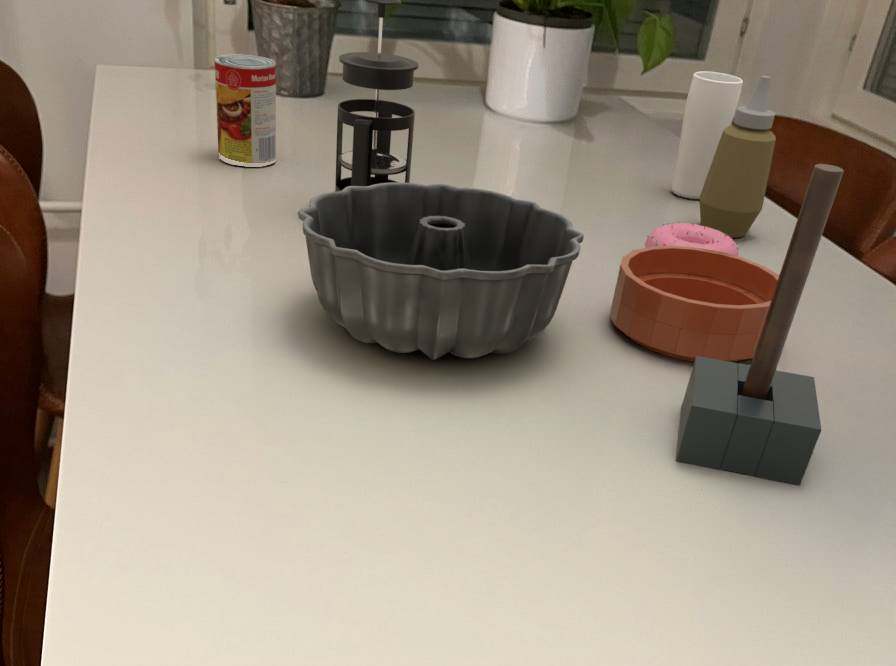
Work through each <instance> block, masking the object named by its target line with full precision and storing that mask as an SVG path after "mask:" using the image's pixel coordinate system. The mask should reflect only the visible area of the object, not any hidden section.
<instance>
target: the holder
mask: <svg viewBox="0 0 896 666" xmlns="http://www.w3.org/2000/svg"><path fill="white" fill-rule="evenodd" d="M750 365H751V364H744V363H737V362H728V361H722V360H717V359H711V358H706V357H700V356H696V357H695V361H693V365H692V369H691V371H690V372H691V373H690V375H689V379H688V381H687V386H686V389H685V392H684V396H683V400H682V403H681V407H680V418H679V426H678V435H677V446H676V455H675V461H677V462H681V463H686V464H692V465H695V466H700V467H701V466H702V467H706V468H711V469H716V470H722V471H727V472H732V473H737V474H742V475H748V476H751V477H755V478H762V479H765V480H771V481H776V482H780V483H786V484H792V485H795V486H801V484H802V481H803V478H804V477H805V473H806V472H807V470H808V469H807V468H808V467H809V464H810V461H811V459H812V456H813V454H814V451H815V448H816V446H817V443H818V441H819V438H820V435H821V433H822V423H821V418H820V409H819V403H818V394H817V388H816V381H815V376H811V375H805V374H799V373H794V372H788V371H782V370H777V369H776V371H775V374H774V377H773V380H772V383H771V385H770V388H769V391H768V394H767V397H766V400H762V399H757V398H752V397H746V396H741V393H742V390H743V386H744V383H745V380H746V377H747V374H748V371H749V368H750Z"/></svg>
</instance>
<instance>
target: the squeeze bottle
mask: <svg viewBox="0 0 896 666" xmlns="http://www.w3.org/2000/svg"><path fill="white" fill-rule="evenodd" d="M770 87H771V77H770V76H769V75H760V76H759V79H758V80H757V83H756V85H755V87H754V89H753V90H752V93H751V95H750V97H749V99H748V101H747V103H746V105H742V106H740V105H739V106H737V109H736V112H735V115H734V119H733V123H734V124H732V125H730V126H728V127H726V128H725V129H724V130H723V132H722V135H721V138H720V141H719V144H718V146H717V149H716V152H715V155H714V158H713V160H712V163H711V166H710V169H709V172H708V174H707V177H706V180H705V183H704V186H703V189H702V191H701V194H700V199H699V217H700V218H699V219H700V224H701V226H705V227H709V228H712V229H715V230H718V231H720V232H722V233H724V234H726V235H729V237H730V238H731V239H734V238H743V237H745V236H747V233H749V230H750V229H751V227H752V225H753V224H754V222H755V220H756V219H757V218H758V216H759V215H760V213H761V212H762V210H763V206H764V201H765V196H766V191H767V187H768V181H769V176H770V171H771V166H772V161H773V156H774V151H775V146H776V141H777V138H776V135H775V134H774V132H773V131H771V130H770V129H772V127H773V123H774V120H775V116H776V112H774V111H772V110H770V109H769V101H770V100H769V97H770Z"/></svg>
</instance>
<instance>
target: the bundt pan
mask: <svg viewBox="0 0 896 666" xmlns="http://www.w3.org/2000/svg"><path fill="white" fill-rule="evenodd" d="M308 205H309V206H307V207H304V208H300V209H299V210H298V211H297V215H298V219H299V220H300V221H302V232H303V235H304V236H305V242H306V249H307V256H308V262H309V268H310V270H309V271H310V276H311V280H312V284H313V286H314V290H315V291H316V294H317V297H318V301H319V304H320V305H321V307H322V309H323V311H324V312H325V313H326V315H327V316H328V317H329V318H330V319H331V320H332V321H333V322H335V323H336V324H337V325H339V326H340V327H343V328H344V329H346V331H347V333H349V335H350V336H351V337H352V338H353V339H354V340H357V341H359V342H361V343H363V344H376V343H377V344H379V345H380V346H381V347H383V348H385V349H386V350H388V351H390V352H393V353H398V354H408V353H409V354H410V353H412V352H416V351H419V350H420V351H421V352H422V353H423V354H424V355H426V356H427V357H428V358H429V359H431V360H432V361H436V360H438V359H439V358H441V357H443V356H445V355H446V354H448V353H450V354H452V355H453V356H455V357H457V358H461V359H477V358H481V357H483V356H485V355H488V354H489V353H492V354H493V353H494V354H498V355H499V354H501V355H505V354H509V353H512V352H515V351H516V350H518V348H520V347H522V346H523V344H524V343H525V342H527V341H529V340H531V339H534V337H537V336H538V335H539V334H540V333H542V332H543V331H544V330H545V329H546V328H547V326H549V324H551V321H552V319H553V318H554V316H555V314H556V311H557V309H558V306H559V303H560V300H561V297H562V295H563V292H564V289H565V286H566V283H567V279H568V276H569V273H570V270H571V267H572V264H573V261H575V260H576V259H578V257H579V255H580V252H581V245H580V244H581V243H582V242H583V241H584V237H585V234H584V233H582V232H580V231H578V230H576V229H574V227H573V223H572V221H571V220H570V219H569V218H567V216H565V215H563V214H561V213H558V212H556V211H554V210H551V209H546V208H542V207H540V205H539V204H538V203H537V202H536V201H531V200H525V199H519V198H514V197H512V196H510V195H508V194H505V193H501V192H498V191H494V190H488V189H483V188H473V187H458V186H455V185H450V184H447V183H446V184H445V183H430V184H423V183H414V182H409V183H405V182H401V181H397V182H391V183H380V184H374V185H371V186H348V187H345V188H344V189H343V190H342V191H337V192H335V191H331V192H325V193H321V194H319V195H316V196H314V197H313V198H311V199H310V201H309V204H308Z"/></svg>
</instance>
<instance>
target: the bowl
mask: <svg viewBox="0 0 896 666" xmlns="http://www.w3.org/2000/svg"><path fill="white" fill-rule="evenodd" d="M779 275H780V274H778V273H777V272H774V271H773V270H771V269H770V268H768V267H766V266H765V265H762V264H759V263H756V262H754V261H752V260H749V259H747V258H744V257H742V256H739V255H738V256H735V255H731V254H727V253H723V252H720V251H713V250H707V249H702V248H696V247H695V248H694V247H684V246H654V247H642V248H638V249H633V250H631V251H630V252H628V253H627V254H625V255H624V256H622V257H621V261H620V265H619V270H618V274H617V279H616V283H615V288H614V292H613V298H612V302H611V307H610V311H609V318H610V319H611V321H612V323H613V325H614V326H615V327H616V328H617V329H618V330H620V331H621V332H622V333H623V334H625V335H626V336H627V337H628V338H629V337H630V338H631V339H630V338H629V339H630V340H632V341H633V342H635V343H636V344H637V345H640V346H641V345H642V346H641V347H644V348H645V347H646V348H645V349H648V350H650V351H653V352H655V353H658V354H661V355H662V356H663V355H664V356H667V357H670V358H674V359H679V360H684V361H689V362H694V361H695V357H696V356H700V357H706V358H711V359H717V360H722V361H728V362H733V363H737V362H741V361H744V360H749V359H753V355H754V352H755V349H756V346H757V343H758V340H759V337H760V334H761V331H762V328H763V325H764V321H765V318H766V315H767V312H768V309H769V306H770V303H771V300H772V297H773V294H774V290H775V287H776V284H777V281H778V278H779Z"/></svg>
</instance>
